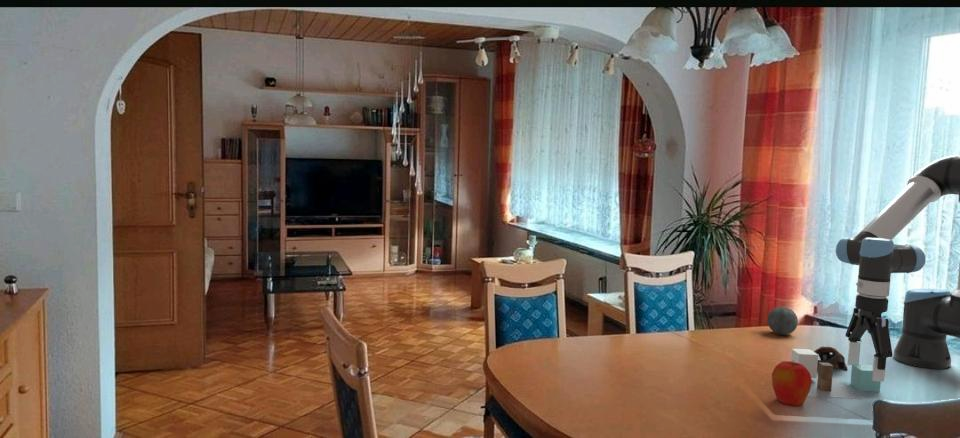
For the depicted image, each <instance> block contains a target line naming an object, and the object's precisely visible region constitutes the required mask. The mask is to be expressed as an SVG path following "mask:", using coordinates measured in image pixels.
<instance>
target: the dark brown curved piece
mask: <svg viewBox="0 0 960 438" xmlns="http://www.w3.org/2000/svg"><path fill="white" fill-rule="evenodd" d="M813 352H815V353H816V354H818V358H820V359H818V365H817V370H818V368H819V362H822V363H830V364H831V365H833V369H844V370H845V371H848V366H847V364H846V360H845V357H844V355H843V354H842V353H841V352H839V350H837V349H836V348H835V347H833V346H820V347H819V348H817V349H815V350H814V351H813Z"/></svg>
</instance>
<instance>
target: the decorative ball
mask: <svg viewBox="0 0 960 438" xmlns="http://www.w3.org/2000/svg"><path fill="white" fill-rule="evenodd" d="M766 319H767V320H766V321H767V325H768V327H769V329H770V330H771V331H772V332H773V333H775V334H777V335H781V336H786V335H790V334H791V333H793V332H795V331H796V330H797V327H798V324H799V318H798V316H797V314H796V313H795V311H793V310H792V309H791V308H789V307H786V306H778V307H775V308H773V309H771V310H770V312H769V313H768V315H767V318H766Z"/></svg>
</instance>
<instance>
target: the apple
mask: <svg viewBox="0 0 960 438" xmlns="http://www.w3.org/2000/svg"><path fill="white" fill-rule="evenodd" d="M793 361H794V360H793ZM771 379H772V380H771V381H772V383H771V385H772V388H773V392H774V395H775V398H776V399H777V401H779V402H780V403H781V404H783V405H786V406H790V407H800V406H802V405H803V404H804V403H805V402H806V400H807V398H808V397H809V396H808V394H809V392H810V388H811V383H812V379H811V375H810V372H809V371H808V370H807V369H806V367H805V366H804V365H802V364H799V363H795V362H791V360H790V361H787V360H786V361H785V360H783V361H781V362H779V363H778V364H777V365H775V367H774V368H773V371H772V373H771Z"/></svg>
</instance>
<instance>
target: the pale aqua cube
mask: <svg viewBox="0 0 960 438" xmlns="http://www.w3.org/2000/svg"><path fill="white" fill-rule="evenodd" d="M872 374H873V365H872V364H859V365H857V364H852V365H851V374H850V385H851V386H852V387H854V388H855V389H856V390H858V391H859V392H876V393H877V392H881V382H882V381H873V380H872Z"/></svg>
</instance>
